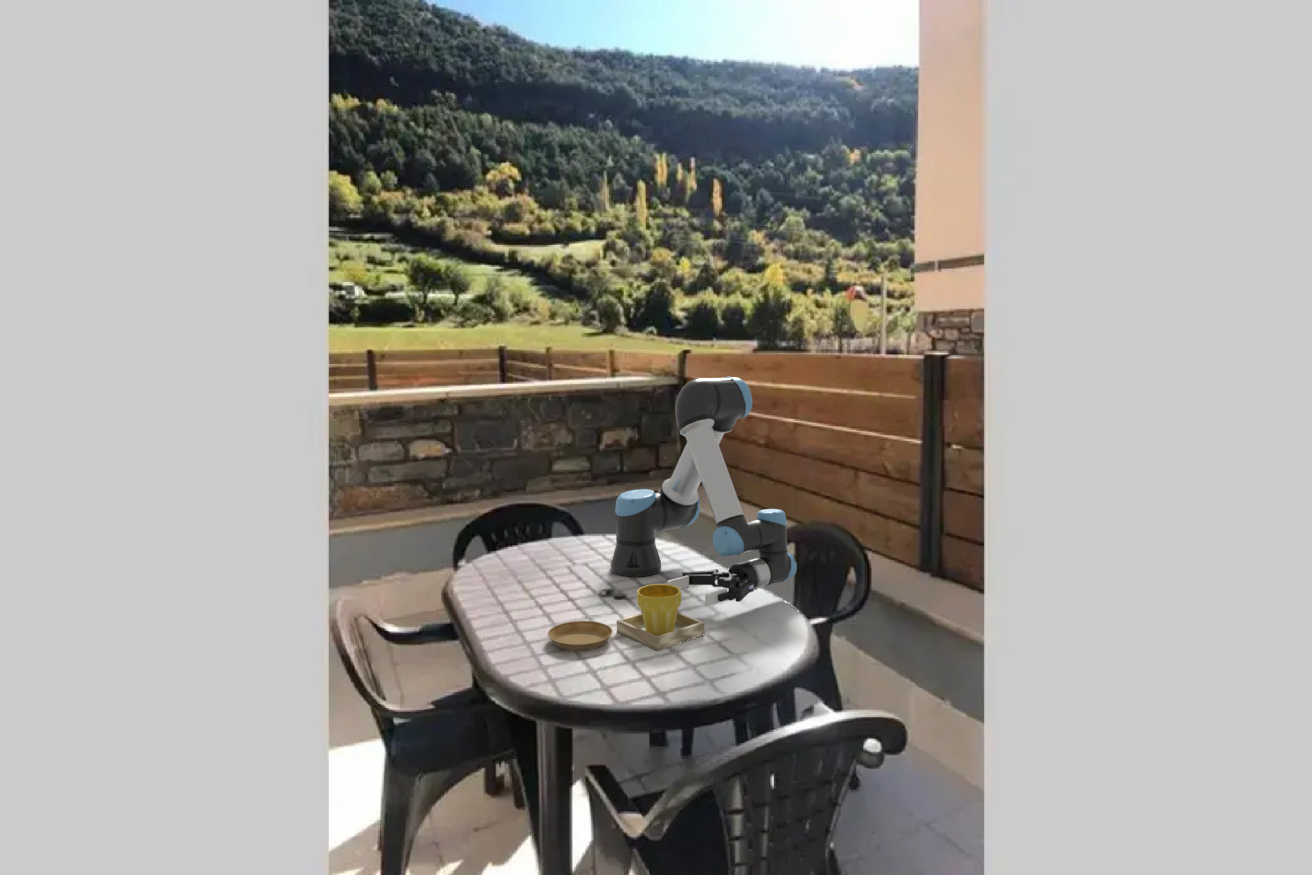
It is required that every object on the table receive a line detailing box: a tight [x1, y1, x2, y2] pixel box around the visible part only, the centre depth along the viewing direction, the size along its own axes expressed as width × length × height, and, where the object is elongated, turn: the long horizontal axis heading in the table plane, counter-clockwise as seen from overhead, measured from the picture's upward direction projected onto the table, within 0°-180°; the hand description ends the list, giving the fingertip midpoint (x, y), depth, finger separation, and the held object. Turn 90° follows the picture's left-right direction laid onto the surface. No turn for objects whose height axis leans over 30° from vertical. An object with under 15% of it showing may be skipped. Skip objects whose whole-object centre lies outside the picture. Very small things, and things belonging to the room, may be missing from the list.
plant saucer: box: [547, 620, 614, 652], centre depth 183 cm, size 15×15×3 cm
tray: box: [616, 611, 706, 652], centre depth 187 cm, size 15×15×3 cm
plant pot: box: [636, 583, 682, 635], centre depth 187 cm, size 10×10×10 cm
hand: (686, 593), depth 192 cm, fingers open, 13 cm apart
